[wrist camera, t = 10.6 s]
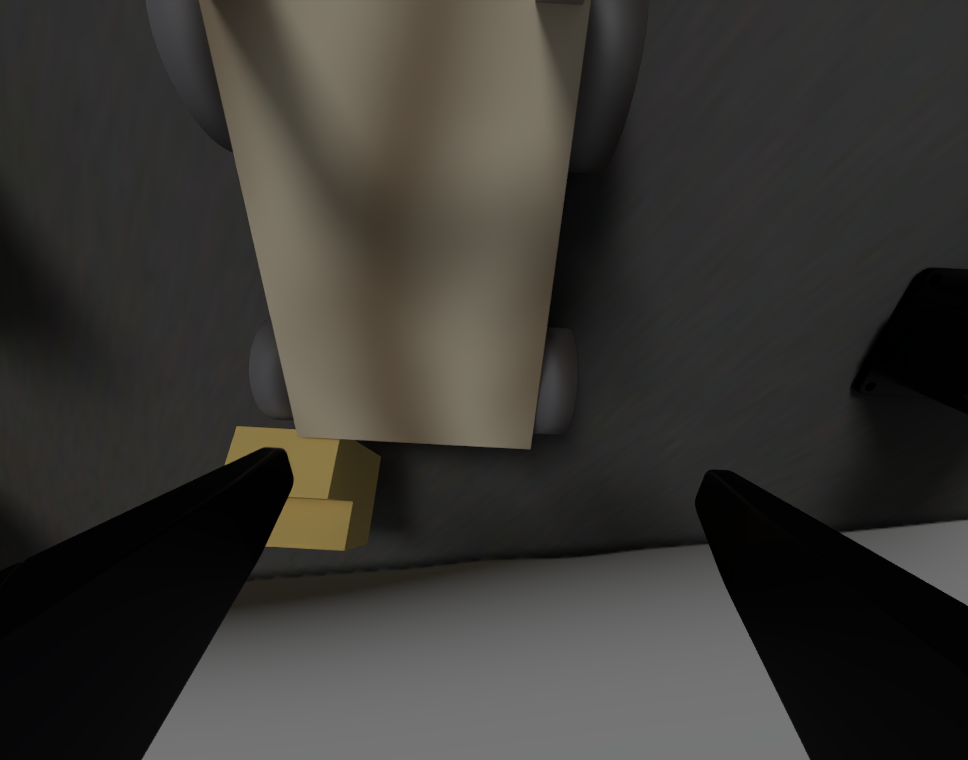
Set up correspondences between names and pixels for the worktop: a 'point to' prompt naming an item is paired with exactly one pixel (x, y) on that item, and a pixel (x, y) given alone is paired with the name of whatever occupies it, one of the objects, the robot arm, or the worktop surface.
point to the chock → (318, 488)
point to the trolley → (408, 197)
